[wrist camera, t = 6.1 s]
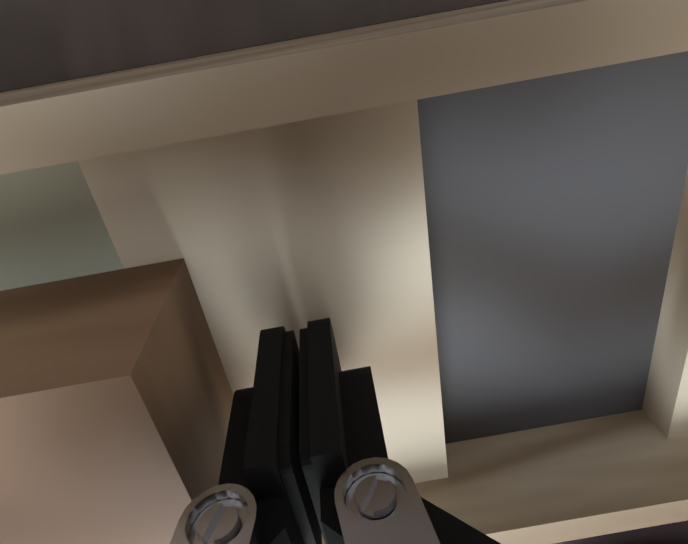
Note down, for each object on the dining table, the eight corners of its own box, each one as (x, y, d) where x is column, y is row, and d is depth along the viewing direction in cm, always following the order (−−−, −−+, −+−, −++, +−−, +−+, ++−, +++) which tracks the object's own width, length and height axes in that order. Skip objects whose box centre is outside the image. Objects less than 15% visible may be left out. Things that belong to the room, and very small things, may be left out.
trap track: (-328, 152, 11) (-581, 211, 8) (1138, -114, 10) (1487, -164, 7) (-6, 537, 17) (-71, 651, 14) (888, 381, 17) (1015, 463, 14)
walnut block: (-74, 303, 11) (-243, 440, 8) (183, 258, 11) (130, 375, 8) (45, 476, 14) (-39, 631, 11) (249, 440, 14) (232, 585, 11)
